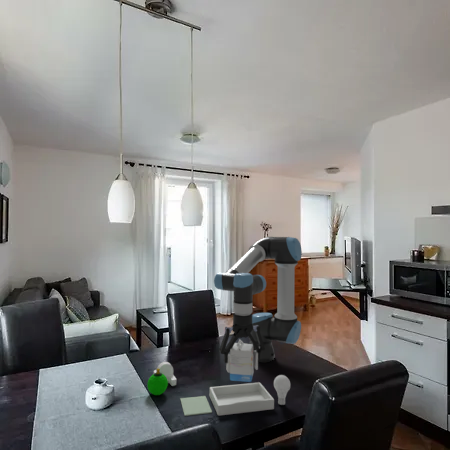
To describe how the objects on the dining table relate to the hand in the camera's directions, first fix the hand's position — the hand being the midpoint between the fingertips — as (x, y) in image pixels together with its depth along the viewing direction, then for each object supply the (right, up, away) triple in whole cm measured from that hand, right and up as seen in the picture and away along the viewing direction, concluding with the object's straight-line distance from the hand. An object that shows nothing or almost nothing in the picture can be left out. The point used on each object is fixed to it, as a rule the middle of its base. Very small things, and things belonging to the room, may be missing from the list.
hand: (242, 369), depth 127 cm
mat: (-18, -12, -4) cm, 22 cm away
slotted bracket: (-33, -12, +16) cm, 39 cm away
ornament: (-34, -12, +4) cm, 36 cm away
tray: (-1, -12, -1) cm, 12 cm away
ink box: (0, -3, 0) cm, 3 cm away
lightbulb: (+15, -13, -2) cm, 20 cm away
